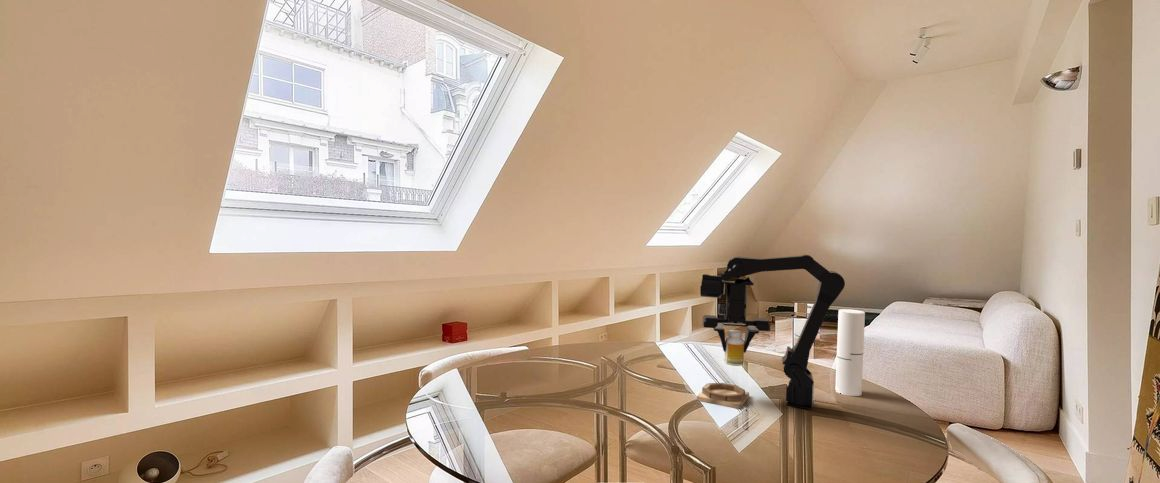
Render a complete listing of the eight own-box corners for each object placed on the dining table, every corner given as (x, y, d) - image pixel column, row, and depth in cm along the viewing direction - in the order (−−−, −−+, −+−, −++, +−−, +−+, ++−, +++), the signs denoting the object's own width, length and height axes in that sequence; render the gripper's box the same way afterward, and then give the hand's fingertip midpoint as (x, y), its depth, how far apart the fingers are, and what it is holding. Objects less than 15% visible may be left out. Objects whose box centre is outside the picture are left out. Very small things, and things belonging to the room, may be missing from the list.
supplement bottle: (747, 366, 151) (748, 333, 150) (730, 366, 149) (732, 333, 149) (736, 360, 156) (738, 329, 155) (720, 361, 154) (722, 329, 154)
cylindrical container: (864, 397, 154) (868, 314, 153) (839, 395, 155) (842, 312, 154) (857, 389, 161) (860, 309, 160) (832, 387, 162) (835, 308, 161)
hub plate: (749, 396, 152) (749, 387, 152) (739, 408, 142) (739, 399, 142) (709, 388, 159) (709, 380, 158) (696, 400, 148) (697, 391, 148)
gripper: (764, 296, 158) (761, 347, 159) (701, 293, 161) (700, 343, 162) (771, 302, 147) (769, 356, 148) (704, 299, 150) (702, 352, 151)
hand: (734, 351), depth 152 cm, fingers closed on supplement bottle, 5 cm apart
